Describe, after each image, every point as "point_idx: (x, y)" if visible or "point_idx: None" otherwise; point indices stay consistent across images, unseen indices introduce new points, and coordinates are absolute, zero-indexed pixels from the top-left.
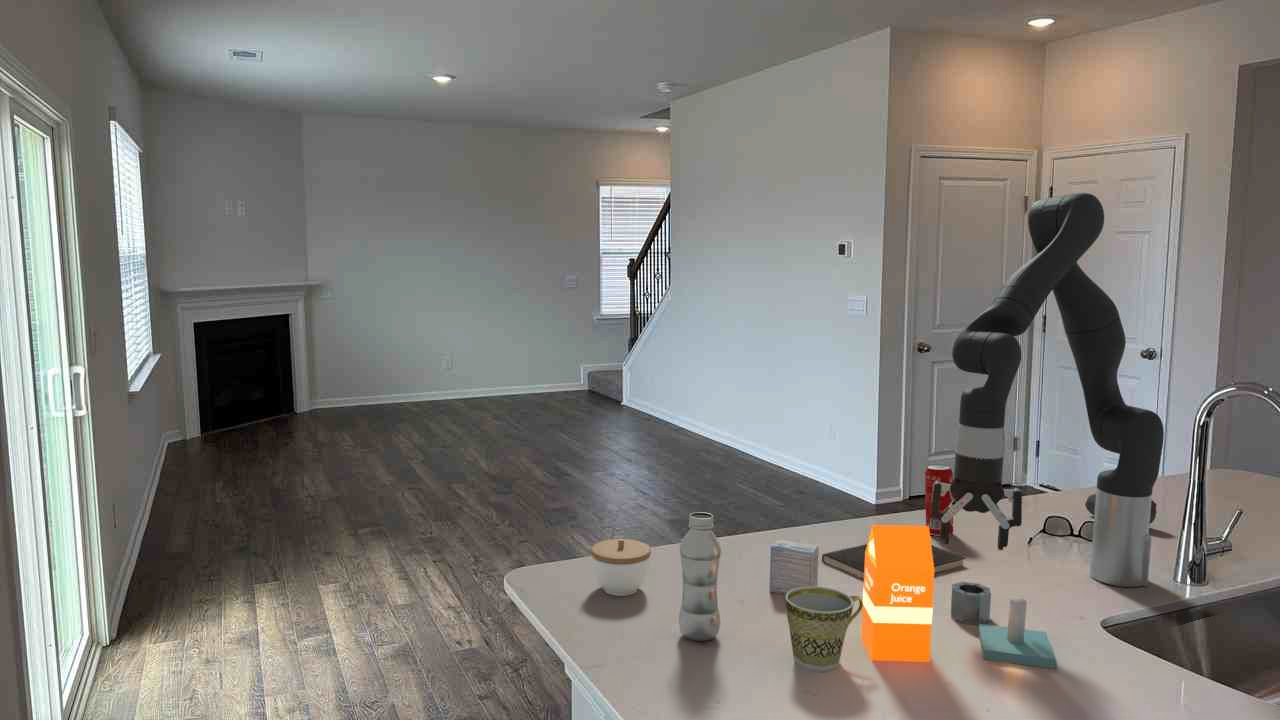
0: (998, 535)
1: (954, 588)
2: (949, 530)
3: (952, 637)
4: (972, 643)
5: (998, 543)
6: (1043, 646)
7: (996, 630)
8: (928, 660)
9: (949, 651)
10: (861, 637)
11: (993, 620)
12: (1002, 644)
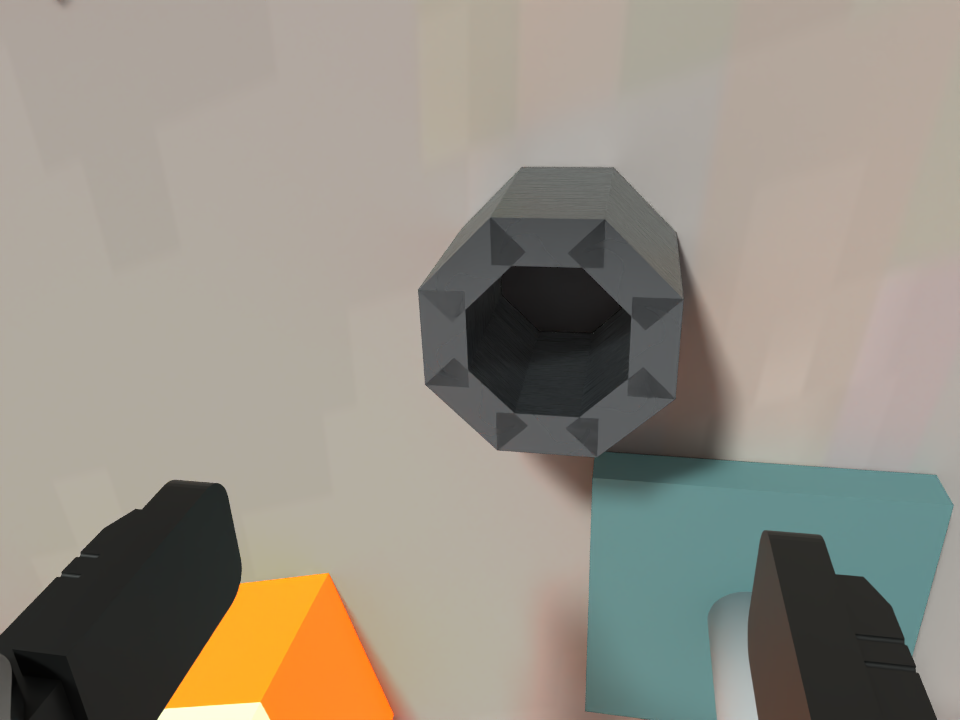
0: (784, 651)
1: (434, 365)
2: (161, 710)
3: (472, 522)
4: (557, 560)
5: (761, 637)
6: None
7: (672, 536)
8: (389, 718)
9: (461, 637)
10: None
11: (701, 277)
12: (674, 663)
